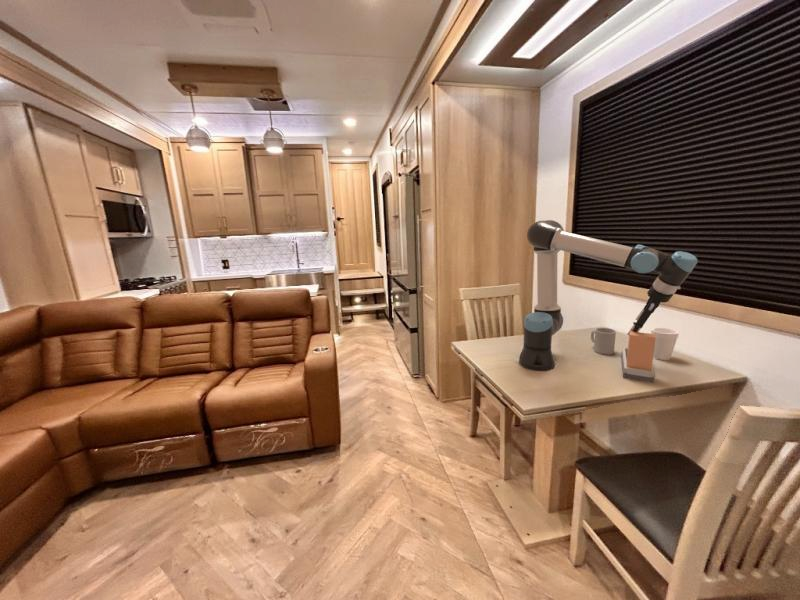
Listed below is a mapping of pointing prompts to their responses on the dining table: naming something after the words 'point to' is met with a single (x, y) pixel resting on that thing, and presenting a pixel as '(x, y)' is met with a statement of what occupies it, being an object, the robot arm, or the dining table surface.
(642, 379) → the shallow rimmed tray
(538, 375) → the dining table surface
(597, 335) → the mug
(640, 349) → the large orange block
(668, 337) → the foam cup
